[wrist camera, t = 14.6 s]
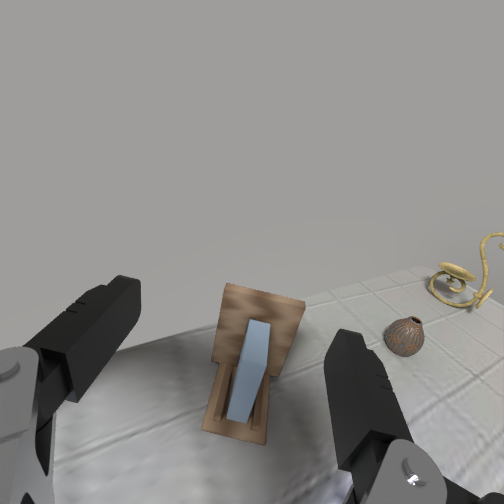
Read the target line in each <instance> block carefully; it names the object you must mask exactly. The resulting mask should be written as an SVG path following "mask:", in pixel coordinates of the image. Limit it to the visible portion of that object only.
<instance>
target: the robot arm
mask: <svg viewBox="0 0 504 504" xmlns="http://www.w3.org/2000/svg"><path fill="white" fill-rule="evenodd" d="M140 313H141V283H140V280H138V279H134V278H130V277H126V276H122V275H118V276H116V277H115V278H114V279H113V280H112V281H111V282H110V283H109V284H108V285H107V286H106V285H99V286H97V287H95V288H93V289H91V290H89V291H87V292H85V293H84V294H83V295H82V296H81V297H80V298H78V299H77V300H76V301H75V303H73V304H72V305H70V306H69V307H68V308H67V309H66V311H63V312H62V313H61V314H60V315H59V316H57V318H55V319H54V320H53V321H52V322H50V323H49V324H48V325H47V326H46V327H45V328H44V329H42V330H41V331H40V332H39V333H38V334H37V335H35V336H34V337H33V338H32V339H31V340H30V341H28V342H27V343H26V344H25V345H23V346H22V347H12V348H7V349H3V350H1V351H0V504H55V500H54V491H53V464H54V448H55V431H56V410H57V409H58V408H59V406H60V405H61V404H62V402H63V401H64V400H67V401H71V402H75V403H78V402H79V400H80V399H81V398H82V396H83V395H84V394H85V392H86V391H87V389H88V388H89V387H90V385H91V384H92V383H93V381H94V380H95V379H96V377H97V376H98V375H99V373H100V372H101V370H102V369H103V368H104V366H105V365H106V364H107V362H108V361H109V360H110V358H111V357H112V356H113V354H114V353H115V351H116V350H117V349H118V347H119V346H120V345H121V343H122V342H123V340H124V339H125V338H126V337H127V335H128V334H129V333H130V331H131V330H132V328H133V327H134V326H135V324H136V323H137V321H138V319H139V316H140ZM324 374H325V381H326V388H327V395H328V402H329V409H330V415H331V422H332V429H333V436H334V443H335V449H336V456H337V463H338V469H340V470H344V471H348V472H351V474H352V479H353V484H352V485H351V487H350V489H349V491H348V493H347V495H346V497H345V499H344V501H343V503H342V504H504V495H503V494H500V493H496V492H492V493H489V494H487V495H485V496H484V497H482V498H479V497H477V496H476V495H474V494H472V493H471V492H469V491H467V490H466V489H464V488H462V487H460V486H459V485H457V484H455V483H454V482H452V481H450V480H449V479H447V478H445V477H444V476H443V475H442V473H441V472H440V470H439V468H438V467H437V465H436V463H435V462H434V461H433V460H432V458H431V457H430V456H429V455H428V454H427V453H426V452H425V451H424V450H423V449H421V448H420V447H419V446H417V445H416V444H415V443H414V441H413V439H412V437H411V434H410V431H409V429H408V426H407V424H406V421H405V419H404V416H403V414H402V411H401V409H400V406H399V403H398V401H397V398H396V396H395V393H394V392H393V388H392V386H391V383H390V380H388V375H387V373H386V370H385V368H384V365H383V363H382V362H381V360H380V359H379V358H378V357H377V355H376V354H375V353H374V351H373V350H369V349H367V347H366V344H365V342H364V339H363V336H362V334H361V333H357V332H353V331H349V330H345V329H339V330H338V332H337V333H336V335H335V337H334V339H333V341H332V343H331V345H330V347H329V349H328V351H327V353H326V356H325V360H324Z"/></svg>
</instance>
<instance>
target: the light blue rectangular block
mask: <svg viewBox="0 0 504 504" xmlns="http://www.w3.org/2000/svg"><path fill="white" fill-rule="evenodd" d="M269 334H270V324H268V323H264V322H259V321H255V320H251V319H250V321H249V325H248V329H247V333H246V336H245V340H244V344H243V348H242V352H241V355H240V359H239V363H238V367H237V371H236V374H235V379H234V384H233V388H232V393H231V398H230V403H229V407H228V412H227V417H226V419H229V420H233V421H237V422H241V423H245V424H246V423H247V421H248V418H249V415H250V412H251V409H252V406H253V403H254V400H255V398H256V395H257V392H258V389H259V386H260V383H261V380H262V378H263V375H264V372H265V369H266V366H267V355H268V344H269Z"/></svg>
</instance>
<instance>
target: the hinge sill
mask: <svg viewBox="0 0 504 504" xmlns="http://www.w3.org/2000/svg"><path fill="white" fill-rule="evenodd" d="M305 308H306V307H305V301H301V300H296V299H292V298H288V297H284V296H280V295H275V294H271V293H267V292H263V291H259V290H254V289H250V288H246V287H242V286H238V285H234V284H229V283H226V285H225V288H224V293H223V298H222V304H221V309H220V315H219V320H218V326H217V331H216V337H215V342H214V348H213V353H212V359H211V361H214V362H218V363H219V366H218V370H217V374H216V377H215V381H214V384H213V388H212V392H211V395H210V399H209V403H208V406H207V410H206V413H205V417H204V421H203V424H202V428H201V430H203V431H207V432H211V433H215V434H219V435H223V436H227V437H231V438H235V439H239V440H243V441H248V442H252V443H256V444H260V445H265V439H266V424H267V409H268V394H269V379H270V375H271V376H275V377H278V376H279V374H280V371H281V369H282V366H283V364H284V361H285V359H286V356H287V354H288V351H289V349H290V346H291V344H292V341H293V339H294V336H295V334H296V331H297V329H298V326H299V324H300V321H301V319H302V316H303V313H304V311H305ZM250 319H251V320H255V321H259V322H264V323H268V324H270V334H269V344H268V355H267V366H266V369H265V372H264V375H263V378H262V380H261V383H260V386H259V389H258V392H257V395H256V398H255V400H254V403H253V406H252V409H251V412H250V415H249V418H248V421H247V423H246V424H245V423H241V422H237V421H233V420H229V419H226V417H227V412H228V407H229V403H230V398H231V393H232V388H233V384H234V379H235V374H236V371H237V367H238V363H239V359H240V355H241V352H242V348H243V344H244V340H245V336H246V333H247V329H248V325H249V321H250Z"/></svg>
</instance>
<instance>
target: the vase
mask: <svg viewBox="0 0 504 504" xmlns="http://www.w3.org/2000/svg"><path fill="white" fill-rule="evenodd" d="M385 340H386V343H387V345H388V347H389V349H390V350H391V351H392V352H394V353H395V354H397V355H400V356H411V355H414V354H415V353H417V352H418V351H419V350H420V349H421V347H422V346H423V343H424V332H423V328H422V321H421V320H420V319H419V318H417V317H414V316H410V317H408V318H404V319H399V320H397V321H395V322H393V323H392V324H391V325H390V326H389V327H388V329H387V331H386V335H385Z"/></svg>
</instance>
